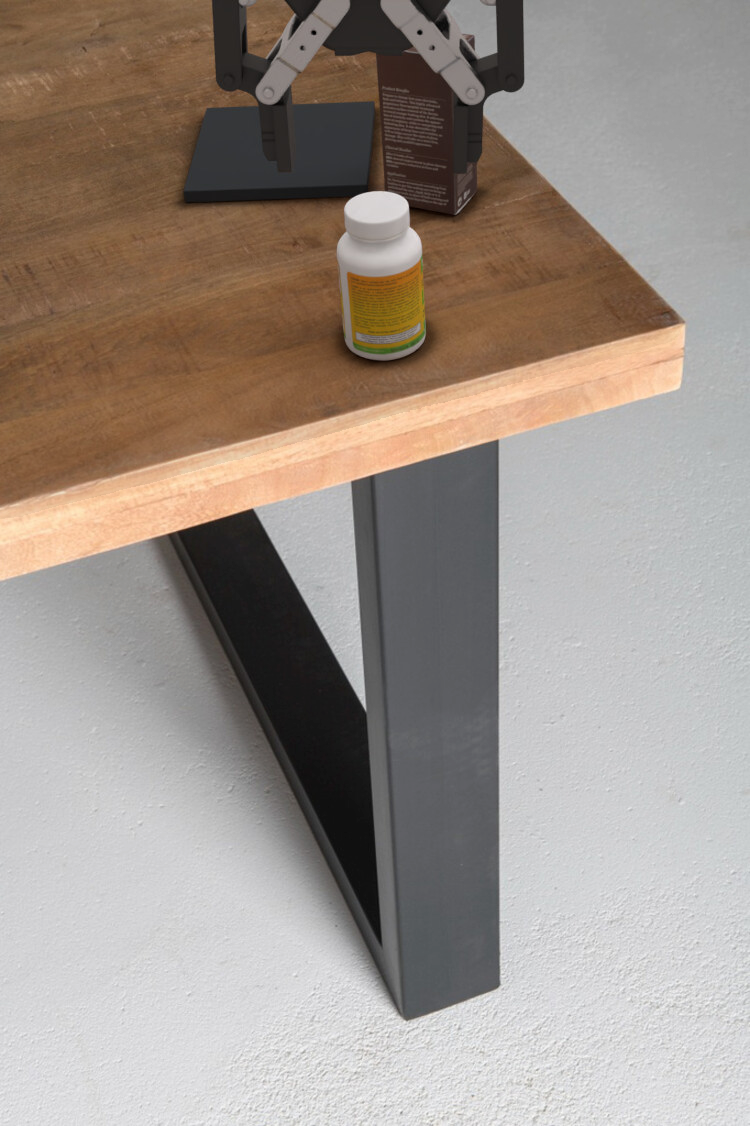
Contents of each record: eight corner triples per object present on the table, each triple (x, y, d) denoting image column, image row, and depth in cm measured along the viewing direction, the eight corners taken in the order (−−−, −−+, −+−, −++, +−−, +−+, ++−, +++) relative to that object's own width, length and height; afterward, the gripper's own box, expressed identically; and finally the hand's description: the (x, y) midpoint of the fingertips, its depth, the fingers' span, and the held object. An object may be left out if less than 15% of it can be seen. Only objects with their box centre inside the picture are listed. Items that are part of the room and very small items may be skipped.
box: (479, 189, 106) (477, 32, 98) (455, 218, 104) (451, 59, 95) (407, 176, 109) (399, 21, 100) (381, 204, 106) (371, 47, 98)
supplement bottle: (441, 345, 92) (437, 211, 85) (369, 372, 90) (359, 238, 84) (400, 307, 95) (392, 176, 89) (330, 333, 94) (317, 201, 87)
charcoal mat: (185, 202, 108) (182, 191, 107) (208, 118, 118) (206, 107, 117) (367, 196, 107) (367, 184, 106) (375, 112, 117) (374, 100, 116)
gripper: (176, -157, 56) (220, 205, 67) (538, -161, 55) (520, 207, 66) (203, -219, 61) (240, 127, 73) (534, -223, 60) (518, 128, 72)
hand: (373, 165), depth 69 cm, fingers open, 8 cm apart
